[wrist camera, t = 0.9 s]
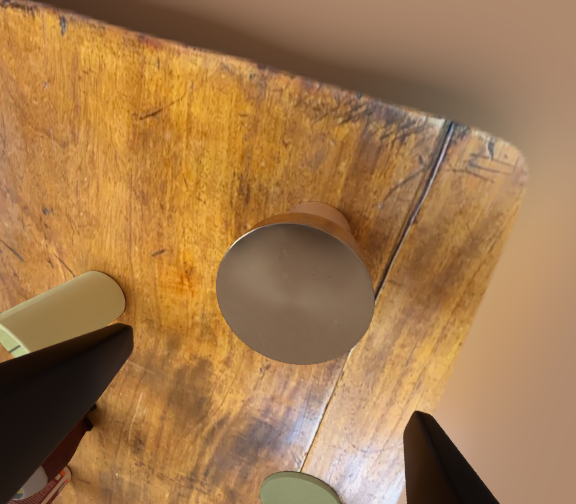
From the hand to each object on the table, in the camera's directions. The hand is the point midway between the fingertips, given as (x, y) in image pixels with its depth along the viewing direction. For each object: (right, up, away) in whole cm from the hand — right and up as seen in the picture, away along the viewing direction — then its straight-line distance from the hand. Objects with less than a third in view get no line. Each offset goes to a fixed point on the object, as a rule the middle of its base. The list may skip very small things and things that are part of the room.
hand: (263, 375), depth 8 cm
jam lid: (+1, +2, +4) cm, 5 cm away
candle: (-17, 0, +18) cm, 24 cm away
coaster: (+2, -24, +23) cm, 33 cm away
